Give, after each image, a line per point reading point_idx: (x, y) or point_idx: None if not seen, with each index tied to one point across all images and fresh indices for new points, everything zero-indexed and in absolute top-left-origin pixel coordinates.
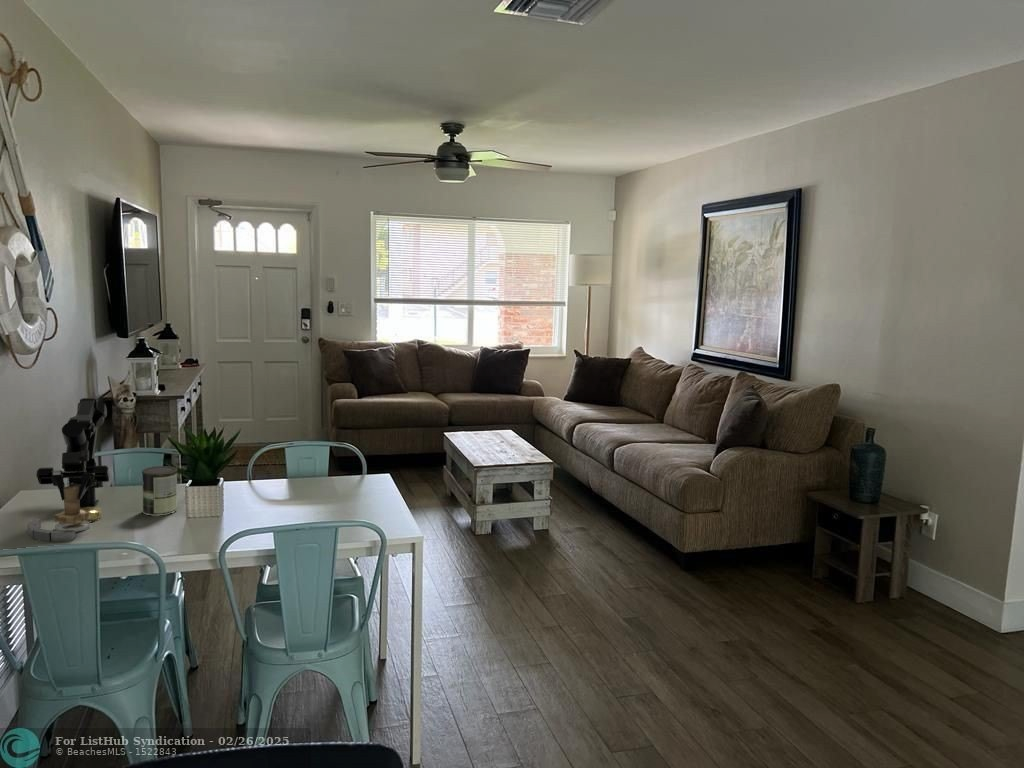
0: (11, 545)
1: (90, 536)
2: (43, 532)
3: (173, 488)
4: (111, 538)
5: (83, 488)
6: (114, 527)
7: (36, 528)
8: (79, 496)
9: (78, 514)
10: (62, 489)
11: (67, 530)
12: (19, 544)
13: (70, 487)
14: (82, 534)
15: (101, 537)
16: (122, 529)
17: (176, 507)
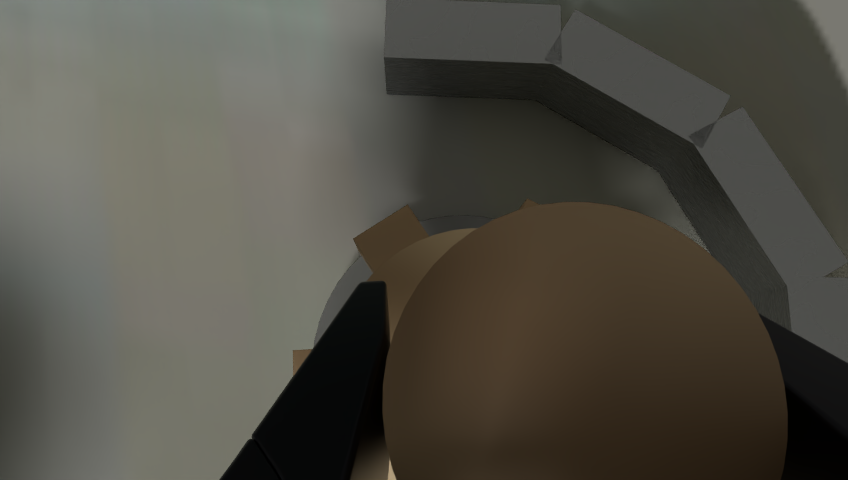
0: (795, 15)
1: (270, 121)
2: (630, 40)
3: None
4: (99, 45)
5: (275, 413)
6: (95, 339)
7: (730, 157)
8: (367, 289)
9: (399, 318)
10: (790, 373)
11: (440, 52)
12: (748, 27)
13: (622, 422)
14: (343, 183)
15: (180, 82)
16: (21, 267)
17: None
